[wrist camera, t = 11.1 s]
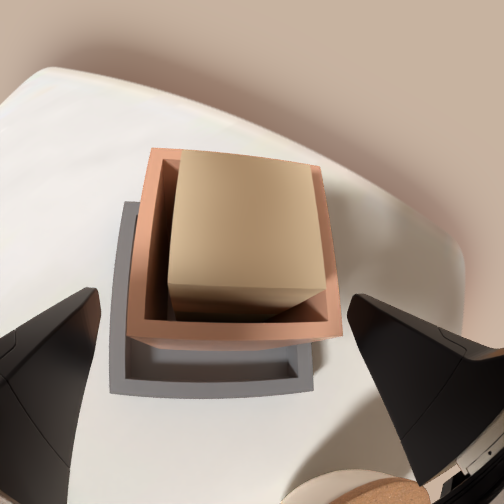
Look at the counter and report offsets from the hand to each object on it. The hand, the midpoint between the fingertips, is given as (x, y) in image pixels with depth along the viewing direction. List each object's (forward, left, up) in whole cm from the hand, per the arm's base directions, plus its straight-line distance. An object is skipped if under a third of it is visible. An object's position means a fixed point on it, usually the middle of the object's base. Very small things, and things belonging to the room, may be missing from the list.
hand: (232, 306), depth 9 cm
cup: (0, -2, -10) cm, 10 cm away
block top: (0, -2, -1) cm, 2 cm away
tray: (0, -2, -10) cm, 11 cm away
